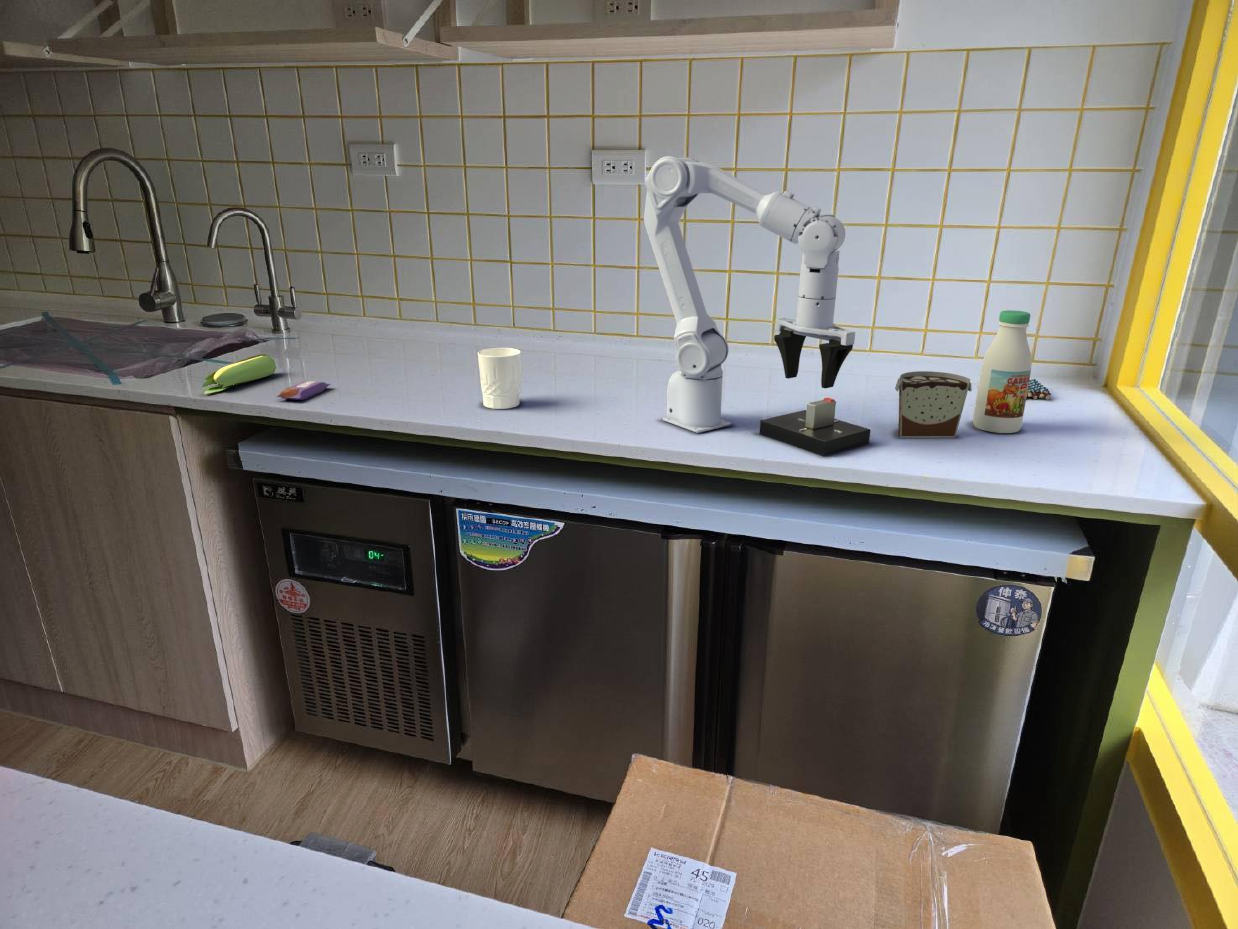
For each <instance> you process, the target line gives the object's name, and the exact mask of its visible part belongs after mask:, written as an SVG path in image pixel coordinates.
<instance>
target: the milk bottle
mask: <svg viewBox="0 0 1238 929" xmlns="http://www.w3.org/2000/svg"><path fill="white" fill-rule="evenodd" d="M1030 320H1031V313H1030V312H1027V311H1023V310H1014V309H1013V310H1002V311H1000V313H999V316H998V323H997V324H998V325H999V326H998V331H997V332H996V335H995V337H994V338H993V340H992V342H991V343H990V345H989V346H988V348H987V349H986V351H985V354H984V356H983V359H982V363H981V367H980V368H981V369H980V372H979V380H978V386H977V392H976V397H975V403H974V404H975V405H974V412H973V416H972V417H973V418H972V424H973V426H974V427H975V428H976V429H979V430H982V431H986V432H990V433H997V434H1014V433H1018V432H1019V431H1020V430H1021V429H1022V424H1023V420H1024V413H1025V409H1026V402H1027V398H1028V397H1027V392H1028V386H1029V380H1030V379H1031V374H1032V373H1031V372H1032V365H1033V364H1032V362H1033V361H1032V360H1033V359H1032V353H1031V349H1030V345H1029V342H1028V336H1027V329H1028V327H1029V326H1030V325H1029V324H1030Z"/></svg>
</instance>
